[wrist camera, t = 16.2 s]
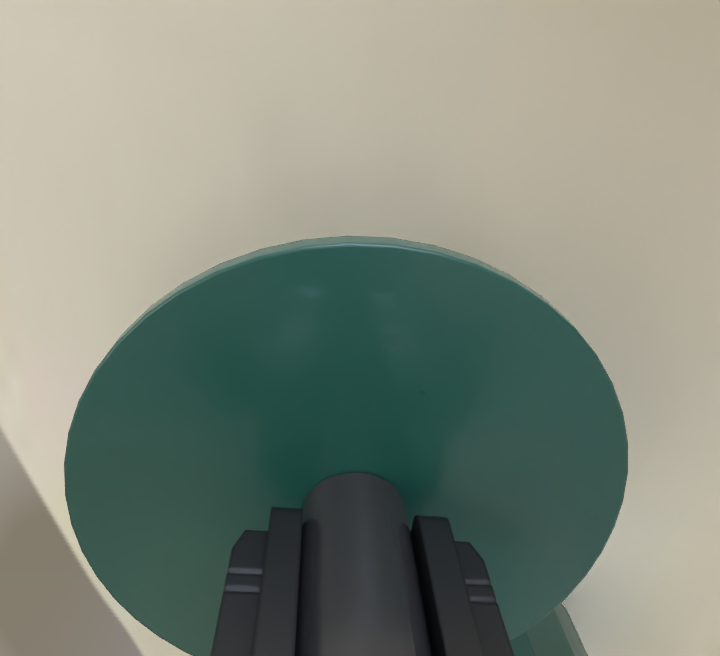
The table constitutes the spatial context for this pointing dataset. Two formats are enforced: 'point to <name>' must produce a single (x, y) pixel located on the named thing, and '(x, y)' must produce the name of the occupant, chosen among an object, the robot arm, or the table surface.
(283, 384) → the lid
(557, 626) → the tin
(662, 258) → the table surface
